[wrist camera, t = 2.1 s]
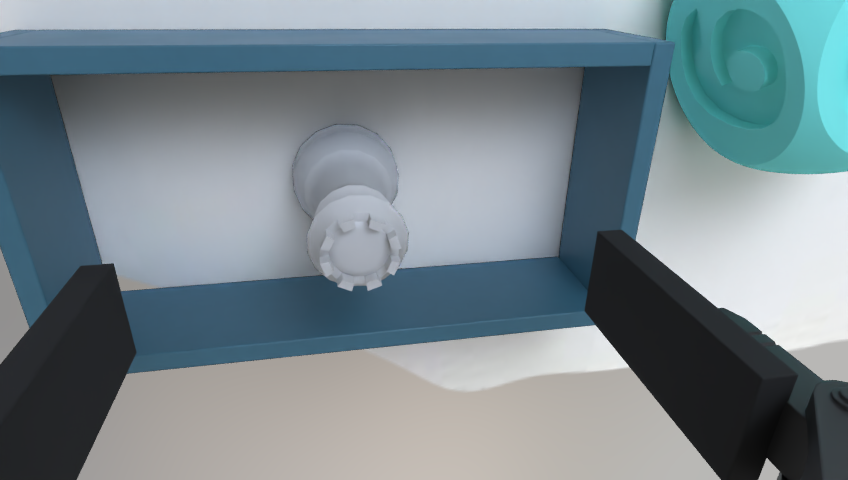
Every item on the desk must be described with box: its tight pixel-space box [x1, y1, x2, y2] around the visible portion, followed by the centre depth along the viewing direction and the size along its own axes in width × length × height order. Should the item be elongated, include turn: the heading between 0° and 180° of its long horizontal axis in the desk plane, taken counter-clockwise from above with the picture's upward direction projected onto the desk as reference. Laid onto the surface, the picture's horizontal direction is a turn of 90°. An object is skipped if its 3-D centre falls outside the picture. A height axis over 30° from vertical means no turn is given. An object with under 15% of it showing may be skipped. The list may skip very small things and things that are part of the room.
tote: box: [0, 29, 675, 374], centre depth 22 cm, size 23×12×5 cm, turn 89°
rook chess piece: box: [293, 124, 409, 291], centre depth 20 cm, size 4×4×8 cm
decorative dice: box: [666, 0, 848, 174], centre depth 21 cm, size 8×8×8 cm
